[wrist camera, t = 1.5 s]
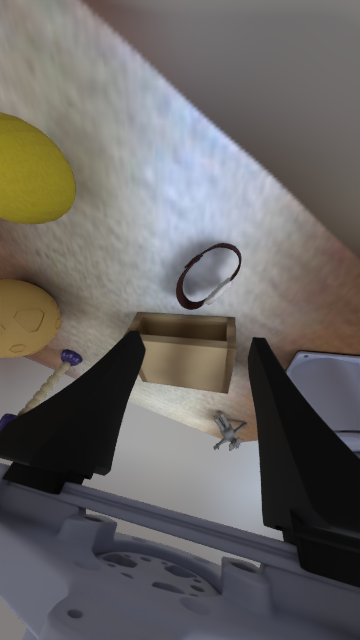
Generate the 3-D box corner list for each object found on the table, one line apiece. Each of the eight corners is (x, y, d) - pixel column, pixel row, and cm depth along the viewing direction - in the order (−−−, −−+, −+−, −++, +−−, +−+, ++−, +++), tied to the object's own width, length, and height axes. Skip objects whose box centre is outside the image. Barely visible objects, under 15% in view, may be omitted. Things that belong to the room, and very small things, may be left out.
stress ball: (15, 302, 28) (-59, 352, 21) (-1, 250, 21) (-117, 296, 14) (75, 329, 30) (27, 383, 23) (78, 289, 23) (11, 347, 16)
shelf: (235, 317, 21) (237, 349, 18) (227, 363, 28) (228, 394, 24) (137, 312, 24) (121, 339, 20) (152, 355, 30) (142, 381, 27)
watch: (200, 306, 21) (196, 326, 18) (168, 283, 20) (160, 301, 17) (253, 259, 16) (258, 278, 13) (216, 224, 15) (214, 238, 12)
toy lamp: (56, 348, 36) (-29, 443, 24) (71, 346, 34) (-12, 448, 22) (73, 362, 39) (4, 452, 27) (88, 361, 37) (21, 457, 25)
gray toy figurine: (241, 409, 38) (258, 438, 40) (228, 396, 44) (243, 422, 46) (205, 437, 37) (224, 467, 38) (196, 419, 43) (213, 446, 44)
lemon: (52, 210, 17) (-39, 236, 11) (13, 124, 13) (-157, 96, 7) (104, 211, 16) (34, 241, 10) (78, 120, 12) (-56, 83, 6)
